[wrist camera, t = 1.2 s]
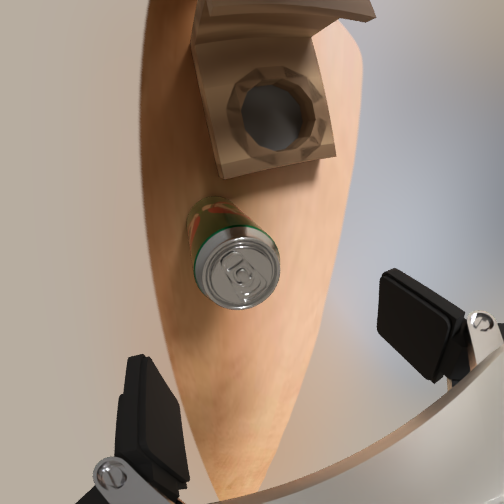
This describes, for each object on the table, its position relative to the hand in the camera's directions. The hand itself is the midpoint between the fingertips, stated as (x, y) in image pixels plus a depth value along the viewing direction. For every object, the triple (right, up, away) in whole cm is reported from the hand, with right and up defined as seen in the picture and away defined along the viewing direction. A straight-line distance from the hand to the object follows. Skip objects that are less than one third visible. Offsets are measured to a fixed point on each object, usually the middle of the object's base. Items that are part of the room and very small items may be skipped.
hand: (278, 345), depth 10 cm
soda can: (-5, +6, +16) cm, 18 cm away
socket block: (0, +18, +13) cm, 22 cm away
